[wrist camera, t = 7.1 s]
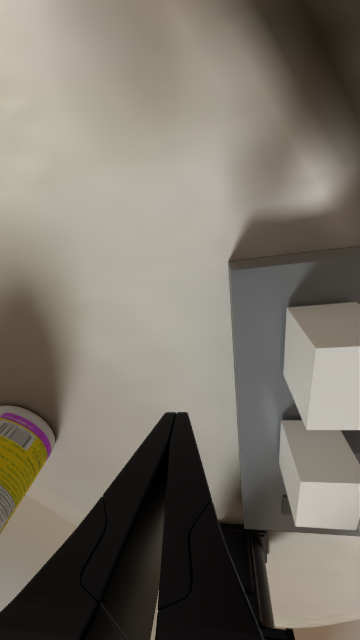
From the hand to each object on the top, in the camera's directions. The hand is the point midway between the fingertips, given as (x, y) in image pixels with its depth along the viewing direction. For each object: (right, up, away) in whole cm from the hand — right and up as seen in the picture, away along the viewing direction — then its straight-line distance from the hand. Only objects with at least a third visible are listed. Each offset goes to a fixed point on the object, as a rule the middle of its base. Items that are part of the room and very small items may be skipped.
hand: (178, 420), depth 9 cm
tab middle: (+8, -4, +6) cm, 11 cm away
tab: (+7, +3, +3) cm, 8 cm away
